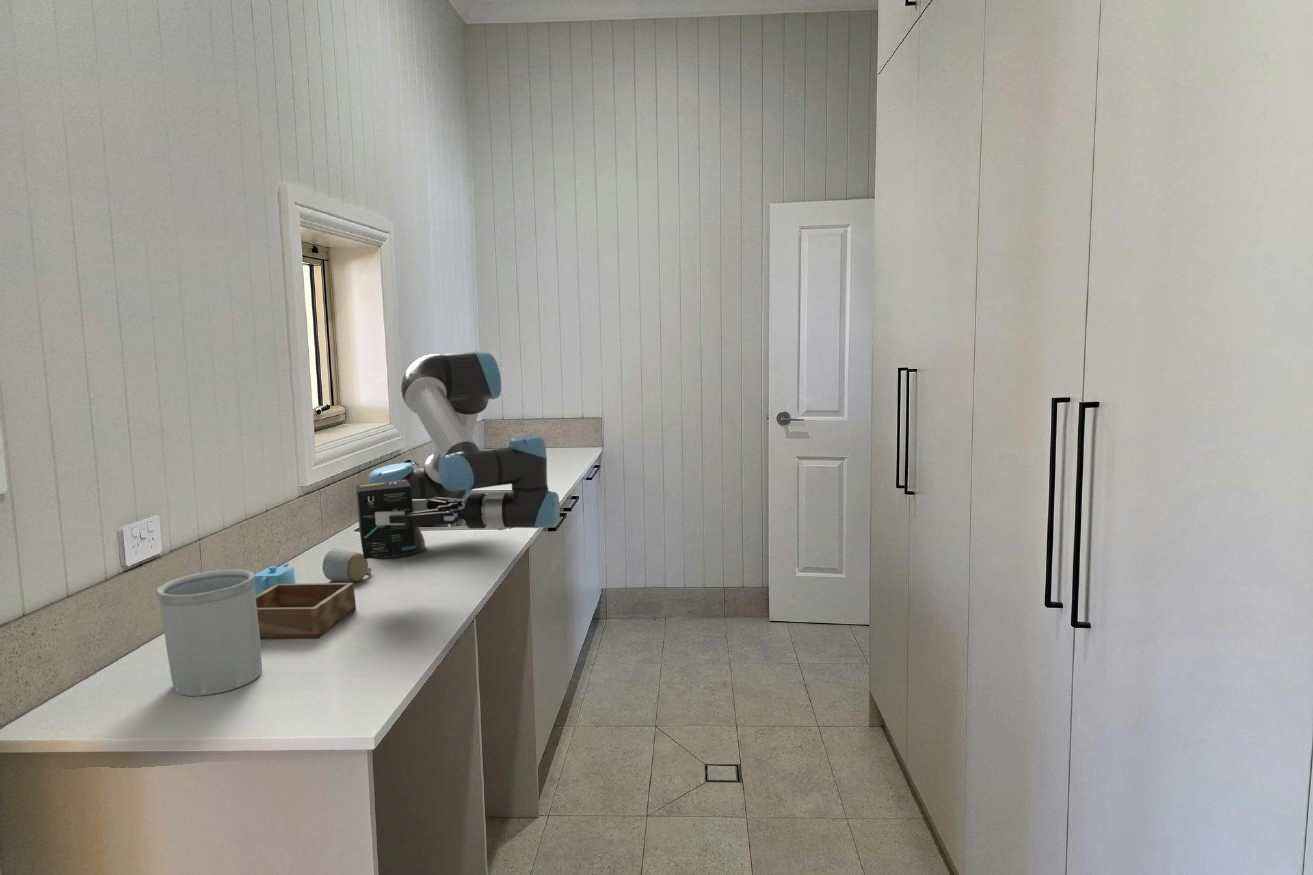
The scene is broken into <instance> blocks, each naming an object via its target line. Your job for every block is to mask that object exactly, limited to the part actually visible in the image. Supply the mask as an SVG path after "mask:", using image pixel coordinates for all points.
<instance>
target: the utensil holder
mask: <svg viewBox="0 0 1313 875" xmlns="http://www.w3.org/2000/svg"><path fill="white" fill-rule="evenodd" d="M254 584H255V573H254V572H252V571H250V570H248V569H247V570H246V569H240V568H239V569H235V568H232V569H231V568H230V569H226V568H225V569H217V570H209V571H203V572H197V573H193V574H189V575H183V576H182V577H181V576H180V577H178V578H175V579H172V580H169V581H168V582H165V583H164V584H161V585H160V586H159V587H158V588H157V590H156V597H157V600H158V601H159V605H160V613H161V619H162V620H161V621H162V625H163V627H162V628H163V633H164V639H165V646H166V654H167V659H168V666H169V672H170V677H171V682H172V687H173V691H174V692H175V693H177V695H181V696H186V697H201V696H209V695H217V694H220V693H224V692H228V691H232V690H234V689H238V688H241V687H244V686H245V685H247V684H249V683H251V682H253V681H254V680H256V679H257V678H258V677H259V676H260V675H261V673H262V671H263V664H262V663H263V662H262V649H261V648H262V646H261V639H260V634H259V625H258V616H257V606H256V598H255V589H254Z"/></svg>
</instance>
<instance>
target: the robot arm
mask: <svg viewBox="0 0 1313 875" xmlns="http://www.w3.org/2000/svg"><path fill="white" fill-rule="evenodd" d="M401 380H402V381H401V386H400V388H401V389H400V390H401V395H402V396H401V397H402V399H403V401H404V403H405V405H406V407H407V408H408V410H410V411H411V412H413V413H416V416H418V418H419V420H420V422H421V423H422V425H423V427H424V429H425V430H426V432H427V434H428V436H429V437H430V439H431V441H432V443H433V445H434V449H433V454H431V455H430V456H428V457H427V459H426V460H425V463H424V466H418V467H414V466H413V464H412V463H410V462H401V463H392V464H388V465H385V466H382V467H378V468H376V469H374V470H372V471H371V472H370V473H369V475H368V484H372V483H381V482H390V481H400V480H408V482H409V484H410V485H411V493H412V506H413V512H410V513H409V512H408V510H407V509H406V510H404V511H394V512H375V521H376V525H405V527H406V528H409V527H414V532H415V546H416V552H414V553H406V554H399V555H391V556H384V557H376V558H377V559H391V558H401V557H407V556H412V555H416V554H418V553H421V552H423V551H424V550H426V542H425V538H424V535H423V533H422V530H421V528H420V527H427V526H428V527H430V526H438V525H454V524H455V523H458V522H459V521H460V520H463V521H464V522H465V526H466V527H467V528H468V529H485V528H488V529H495V528H496V529H497V528H498V530H499V531H503V530H504V529H506V528H507V529H508V528H510V529H512V528H515V529H516V528H517V529H518V528H519V529H520V528H521V529H522V528H524V529H526V528H527V529H539V528H550V527H551V528H552V527H555V526H556V525H557V524H558V523H559V520H560V516H561V514H560V513H561V504H560V497H559V495H558V493H557V492H555V491H552V490H549V487H548V472H547V471H548V470H547V469H548V466H547V465H548V462H547V459H548V457H547V451H546V450H547V449H546V442H545V440H544V438H543V437H541V436H538V435H521V436H519V435H518V436H514V437H512V438H510V439H509V442H508V443H509V444H508V447H504V448H495V449H487V450H481V449H480V448H479V447H478V445H477V444H476V442H475V441H474V439H473V434H474V432H475V429H476V428H475V427H476V424H477V420H478V417H479V414H480V413H482V412H484V411H485V410H486V408H487V407H488V403H489V400H495V399H498V398H500V396H501V393H502V377H501V372H500V368H499V365H498V362H497V360H496V359H495V357H494V355H492V354H491V353H490V352H482V351H481V352H479V351H473V352H471V351H470V352H458V353H457V352H455V353H434V354H433V353H432V354H427V355H423V356H421V357H419V358H418V359H416V360H414V361H413V362H412V363H411V364H410V365H409V367H408V368H407V369H406V371H405V372H404V374H403V376H402V379H401ZM504 485H505V486H506V485H511V491H512V492H488V493H484V492H477V493H476V492H473V490H477V489H482V488H491V487H497V486H504ZM472 492H473V493H472ZM411 519H412V522H411Z"/></svg>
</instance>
